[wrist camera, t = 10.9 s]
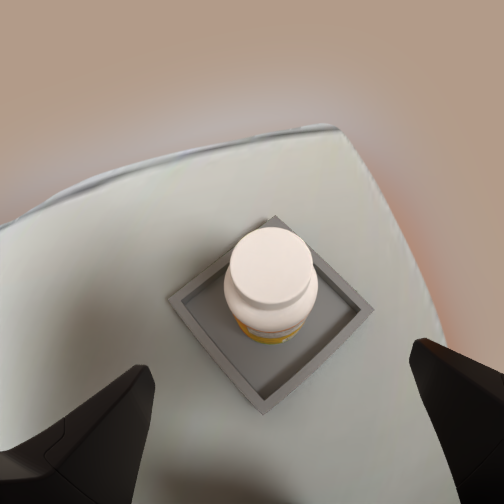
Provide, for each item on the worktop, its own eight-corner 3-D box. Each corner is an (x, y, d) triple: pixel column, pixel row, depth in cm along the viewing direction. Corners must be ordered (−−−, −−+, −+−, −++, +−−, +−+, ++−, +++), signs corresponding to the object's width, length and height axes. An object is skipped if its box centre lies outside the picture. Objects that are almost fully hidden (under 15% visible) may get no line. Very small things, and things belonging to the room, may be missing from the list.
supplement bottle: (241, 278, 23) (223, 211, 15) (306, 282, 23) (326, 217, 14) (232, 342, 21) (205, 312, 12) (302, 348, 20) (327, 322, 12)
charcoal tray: (263, 412, 19) (262, 415, 17) (174, 305, 23) (167, 299, 22) (367, 315, 22) (374, 309, 20) (275, 225, 26) (275, 215, 24)
